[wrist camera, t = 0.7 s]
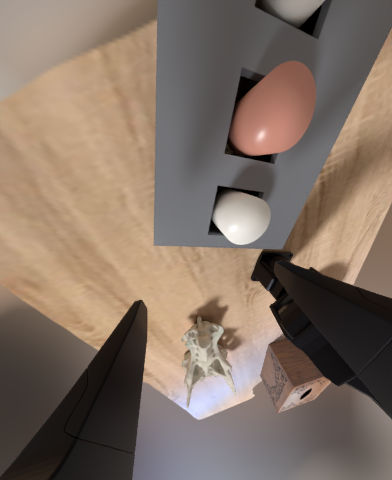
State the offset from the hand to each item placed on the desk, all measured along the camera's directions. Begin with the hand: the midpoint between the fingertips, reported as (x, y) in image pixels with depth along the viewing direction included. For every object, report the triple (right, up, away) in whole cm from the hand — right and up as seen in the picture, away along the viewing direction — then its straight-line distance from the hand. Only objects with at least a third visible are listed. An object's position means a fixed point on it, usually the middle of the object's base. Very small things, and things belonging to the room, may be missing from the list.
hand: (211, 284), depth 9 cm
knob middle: (+4, +13, +4) cm, 14 cm away
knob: (+3, +7, +7) cm, 10 cm away
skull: (+1, -24, +26) cm, 35 cm away
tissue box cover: (+30, -39, +42) cm, 65 cm away
